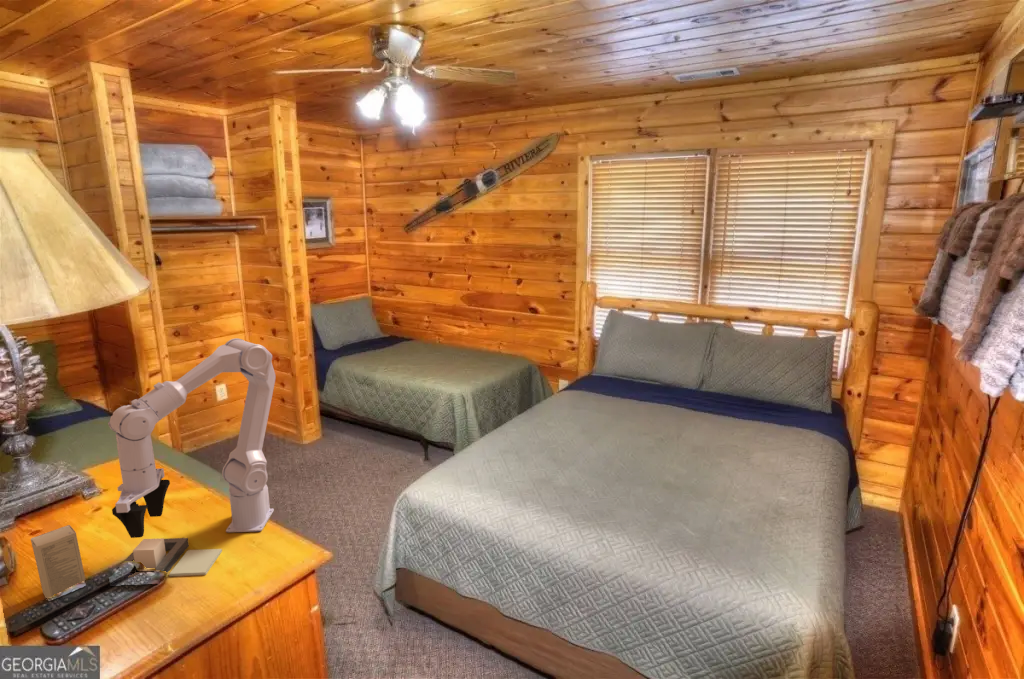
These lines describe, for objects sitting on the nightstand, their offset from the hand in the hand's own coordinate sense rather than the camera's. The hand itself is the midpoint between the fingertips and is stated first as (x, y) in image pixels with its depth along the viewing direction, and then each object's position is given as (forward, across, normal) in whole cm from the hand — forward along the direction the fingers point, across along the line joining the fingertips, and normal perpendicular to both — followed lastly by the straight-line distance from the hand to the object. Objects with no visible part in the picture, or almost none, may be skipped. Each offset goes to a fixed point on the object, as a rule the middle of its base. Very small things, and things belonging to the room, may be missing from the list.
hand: (146, 525), depth 113 cm
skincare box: (+10, +6, -13) cm, 18 cm away
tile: (+9, 0, +9) cm, 13 cm away
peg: (+10, 0, 0) cm, 10 cm away
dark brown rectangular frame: (+9, 0, 0) cm, 9 cm away
